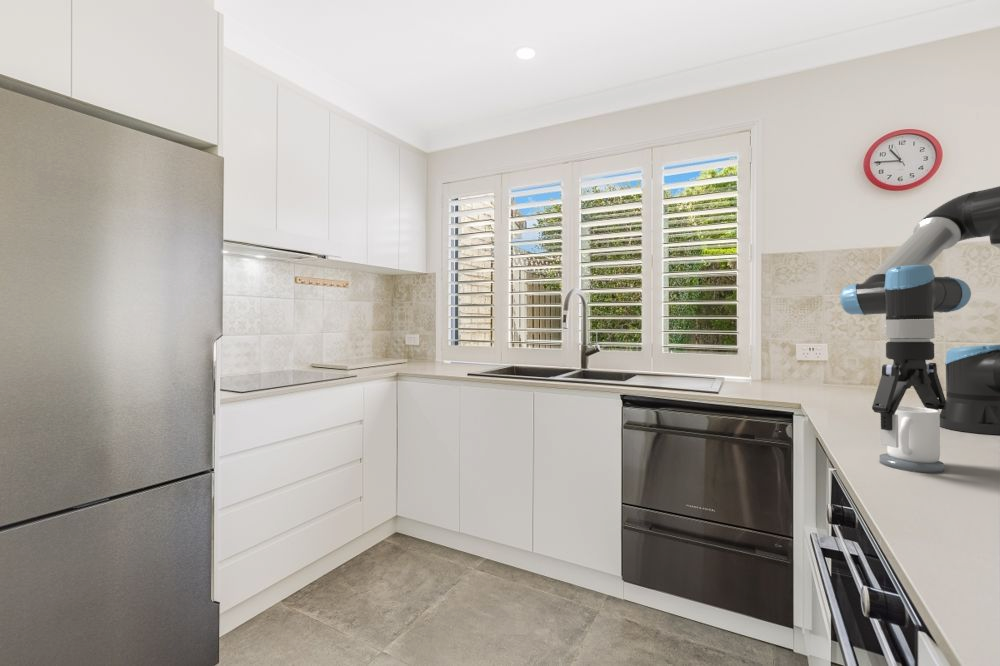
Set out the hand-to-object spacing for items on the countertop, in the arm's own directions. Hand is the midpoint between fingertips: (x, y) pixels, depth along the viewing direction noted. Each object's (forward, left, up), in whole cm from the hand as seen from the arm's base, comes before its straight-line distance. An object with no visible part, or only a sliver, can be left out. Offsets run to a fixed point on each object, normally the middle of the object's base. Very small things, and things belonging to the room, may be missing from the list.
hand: (910, 442), depth 96 cm
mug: (0, 0, -4) cm, 4 cm away
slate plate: (0, 0, -5) cm, 5 cm away
